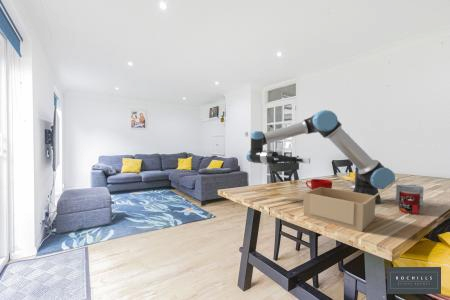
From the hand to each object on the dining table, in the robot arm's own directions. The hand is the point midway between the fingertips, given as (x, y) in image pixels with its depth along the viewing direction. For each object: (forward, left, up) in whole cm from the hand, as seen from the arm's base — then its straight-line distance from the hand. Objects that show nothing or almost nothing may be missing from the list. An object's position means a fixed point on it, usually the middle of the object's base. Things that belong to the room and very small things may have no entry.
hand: (309, 160), depth 105 cm
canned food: (-52, -3, -26) cm, 58 cm away
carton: (-11, +8, -26) cm, 29 cm away
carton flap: (-23, +19, -10) cm, 31 cm away
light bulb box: (-66, -20, -26) cm, 74 cm away
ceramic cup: (-19, -35, -26) cm, 48 cm away
